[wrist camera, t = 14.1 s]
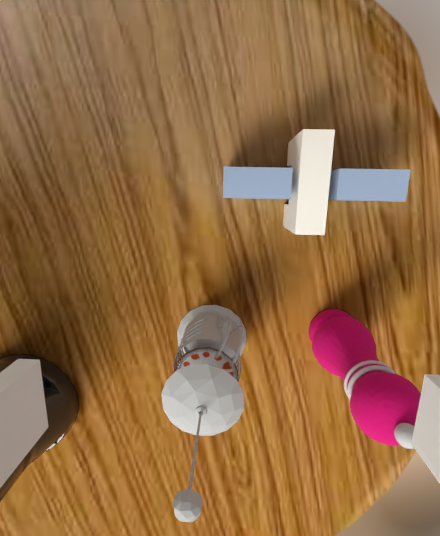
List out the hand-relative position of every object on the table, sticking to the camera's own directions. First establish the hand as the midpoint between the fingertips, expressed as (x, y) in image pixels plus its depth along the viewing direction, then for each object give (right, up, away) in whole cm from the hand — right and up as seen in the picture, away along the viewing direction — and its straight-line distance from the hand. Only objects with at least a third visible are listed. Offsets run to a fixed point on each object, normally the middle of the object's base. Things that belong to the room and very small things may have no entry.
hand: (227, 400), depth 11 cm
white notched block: (+9, +15, +28) cm, 33 cm away
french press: (-1, -4, +33) cm, 33 cm away
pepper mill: (+15, -4, +32) cm, 36 cm away
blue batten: (+9, +15, +28) cm, 33 cm away
